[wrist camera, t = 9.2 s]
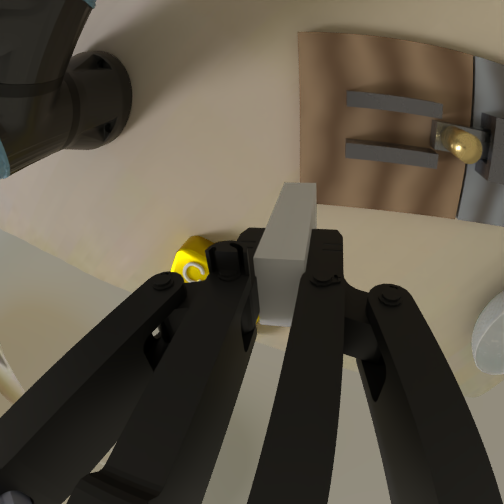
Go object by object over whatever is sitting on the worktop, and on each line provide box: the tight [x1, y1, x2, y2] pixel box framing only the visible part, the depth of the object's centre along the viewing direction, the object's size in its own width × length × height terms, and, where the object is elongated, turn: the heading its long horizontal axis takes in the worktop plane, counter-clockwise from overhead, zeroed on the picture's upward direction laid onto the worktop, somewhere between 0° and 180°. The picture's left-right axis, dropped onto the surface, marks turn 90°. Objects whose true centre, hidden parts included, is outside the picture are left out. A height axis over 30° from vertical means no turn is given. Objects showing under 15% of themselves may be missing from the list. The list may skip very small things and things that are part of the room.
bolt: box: [430, 119, 491, 164], centre depth 24 cm, size 10×3×7 cm, turn 93°
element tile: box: [170, 236, 260, 324], centre depth 49 cm, size 15×15×5 cm
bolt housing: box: [345, 90, 504, 185], centre depth 26 cm, size 22×7×4 cm, turn 93°
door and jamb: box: [298, 32, 504, 227], centre depth 30 cm, size 28×20×2 cm
